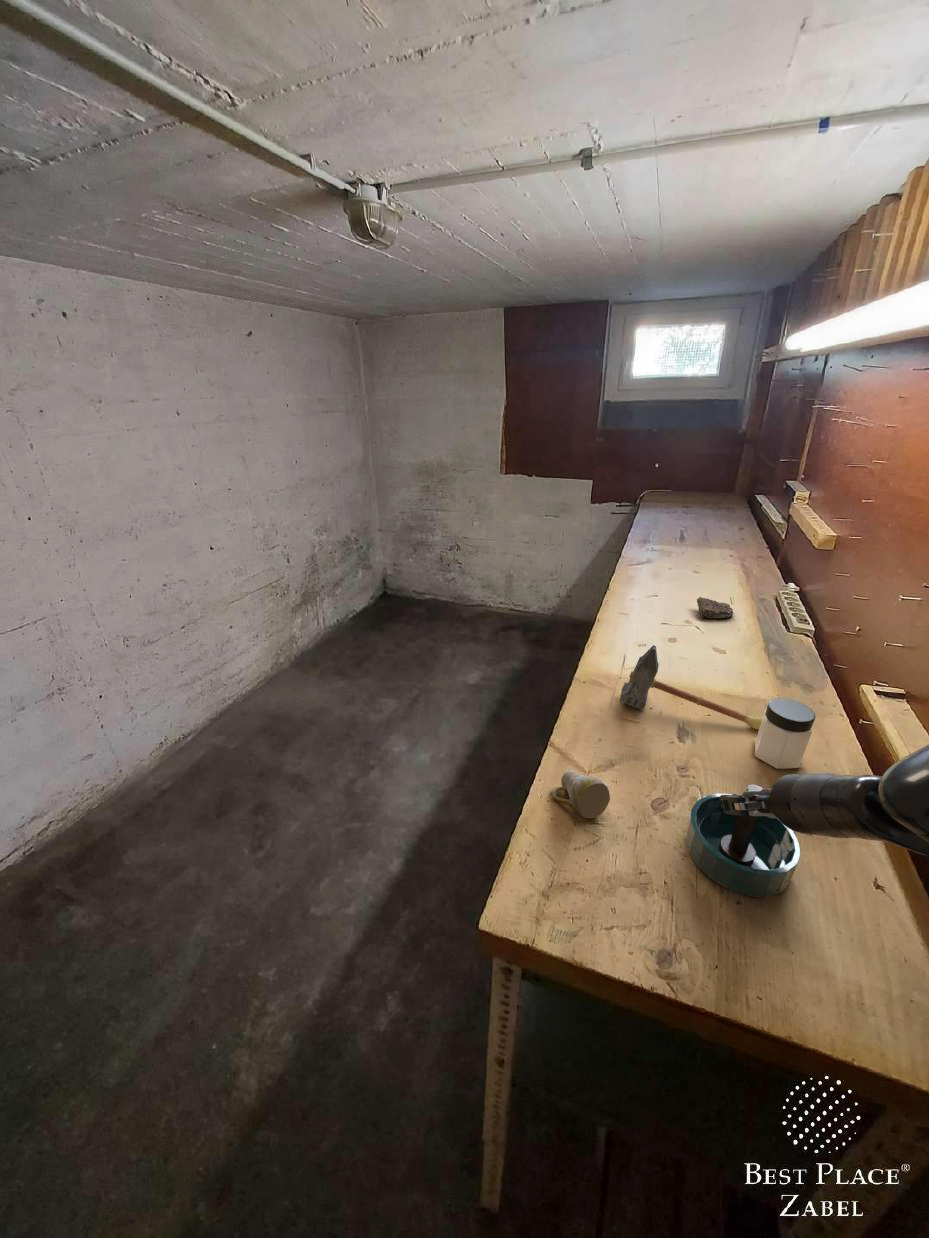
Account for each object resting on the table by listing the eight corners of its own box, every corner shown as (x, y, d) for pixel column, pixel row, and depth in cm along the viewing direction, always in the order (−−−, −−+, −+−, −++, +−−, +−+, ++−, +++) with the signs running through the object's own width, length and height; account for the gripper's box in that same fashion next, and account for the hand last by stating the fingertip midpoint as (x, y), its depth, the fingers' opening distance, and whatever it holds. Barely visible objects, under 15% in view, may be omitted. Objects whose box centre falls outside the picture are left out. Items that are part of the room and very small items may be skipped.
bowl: (723, 805, 90) (730, 781, 87) (810, 871, 78) (821, 845, 75) (664, 840, 84) (670, 815, 81) (749, 918, 71) (759, 892, 69)
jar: (808, 760, 100) (826, 713, 95) (787, 776, 96) (805, 728, 91) (765, 736, 107) (779, 691, 102) (744, 750, 103) (757, 704, 98)
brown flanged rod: (732, 834, 83) (751, 773, 77) (761, 857, 79) (783, 795, 73) (712, 847, 81) (730, 785, 75) (740, 871, 77) (762, 808, 71)
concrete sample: (694, 618, 160) (697, 604, 158) (694, 606, 168) (697, 593, 166) (733, 623, 156) (737, 609, 154) (731, 611, 164) (734, 597, 162)
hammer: (783, 701, 102) (642, 649, 110) (747, 753, 110) (618, 701, 118) (779, 686, 107) (644, 638, 114) (745, 738, 115) (621, 689, 123)
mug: (577, 775, 98) (603, 755, 91) (593, 825, 92) (622, 807, 85) (545, 777, 95) (570, 756, 88) (559, 828, 90) (586, 810, 82)
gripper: (863, 769, 63) (779, 772, 79) (759, 778, 62) (695, 779, 78) (884, 831, 61) (793, 821, 77) (775, 841, 60) (706, 829, 76)
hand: (744, 800), depth 77 cm, fingers open, 6 cm apart
